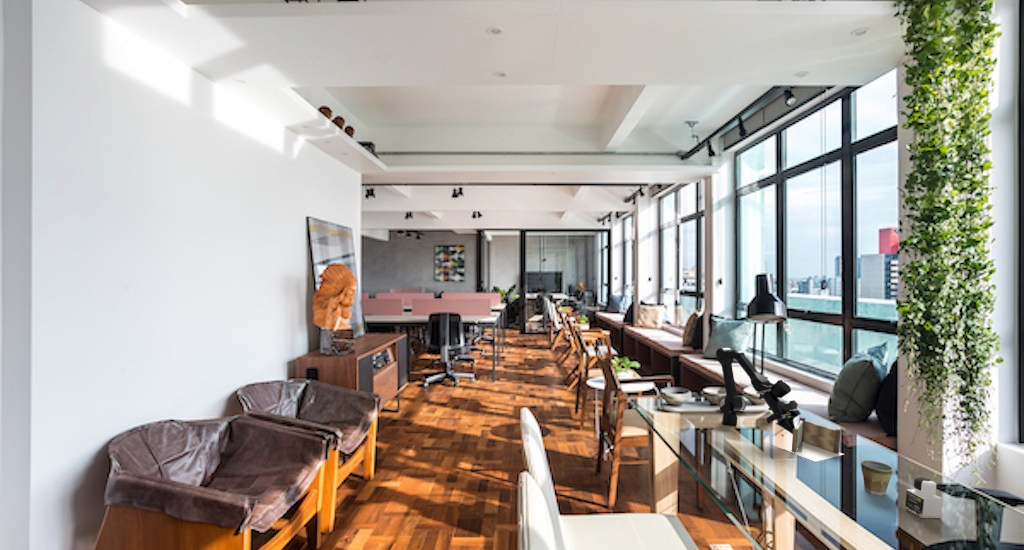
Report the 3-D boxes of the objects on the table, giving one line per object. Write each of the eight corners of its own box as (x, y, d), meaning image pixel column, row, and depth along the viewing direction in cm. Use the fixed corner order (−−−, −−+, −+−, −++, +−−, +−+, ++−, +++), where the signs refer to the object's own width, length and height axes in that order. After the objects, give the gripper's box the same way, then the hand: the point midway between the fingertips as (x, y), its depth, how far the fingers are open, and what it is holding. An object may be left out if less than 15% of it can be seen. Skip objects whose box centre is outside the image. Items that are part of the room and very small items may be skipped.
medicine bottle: (904, 508, 186) (907, 475, 185) (923, 508, 186) (926, 475, 186) (921, 519, 179) (924, 484, 178) (941, 519, 179) (944, 484, 179)
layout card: (756, 440, 249) (757, 439, 249) (785, 434, 260) (785, 433, 260) (815, 462, 225) (815, 461, 225) (844, 455, 236) (844, 454, 236)
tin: (744, 411, 299) (745, 396, 299) (746, 412, 296) (747, 397, 296) (717, 409, 301) (718, 394, 300) (718, 410, 297) (719, 395, 297)
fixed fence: (796, 440, 252) (798, 417, 252) (799, 439, 253) (801, 416, 253) (837, 454, 236) (839, 429, 235) (840, 453, 237) (842, 429, 236)
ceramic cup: (892, 500, 192) (894, 473, 192) (859, 492, 197) (861, 466, 197) (889, 487, 203) (891, 462, 203) (858, 480, 208) (860, 455, 208)
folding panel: (797, 440, 251) (799, 419, 250) (802, 441, 249) (804, 420, 249) (791, 451, 236) (792, 429, 235) (796, 452, 235) (797, 430, 234)
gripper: (774, 396, 241) (795, 427, 232) (798, 392, 251) (819, 422, 242) (757, 408, 248) (777, 439, 239) (781, 404, 258) (801, 434, 249)
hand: (794, 433), depth 242 cm, fingers closed
